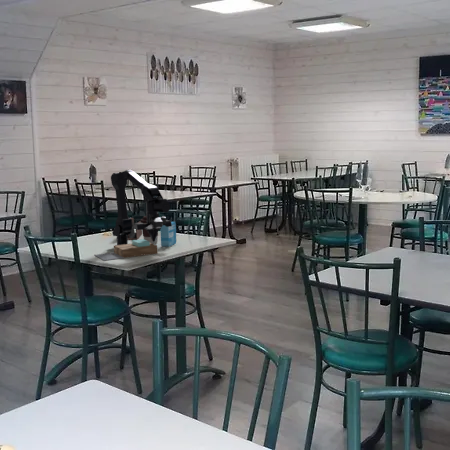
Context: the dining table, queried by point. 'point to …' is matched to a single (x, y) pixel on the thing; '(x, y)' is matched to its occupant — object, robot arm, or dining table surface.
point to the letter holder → (134, 235)
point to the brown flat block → (134, 250)
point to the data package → (168, 235)
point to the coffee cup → (145, 232)
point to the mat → (109, 256)
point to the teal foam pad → (140, 242)
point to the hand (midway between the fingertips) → (153, 241)
